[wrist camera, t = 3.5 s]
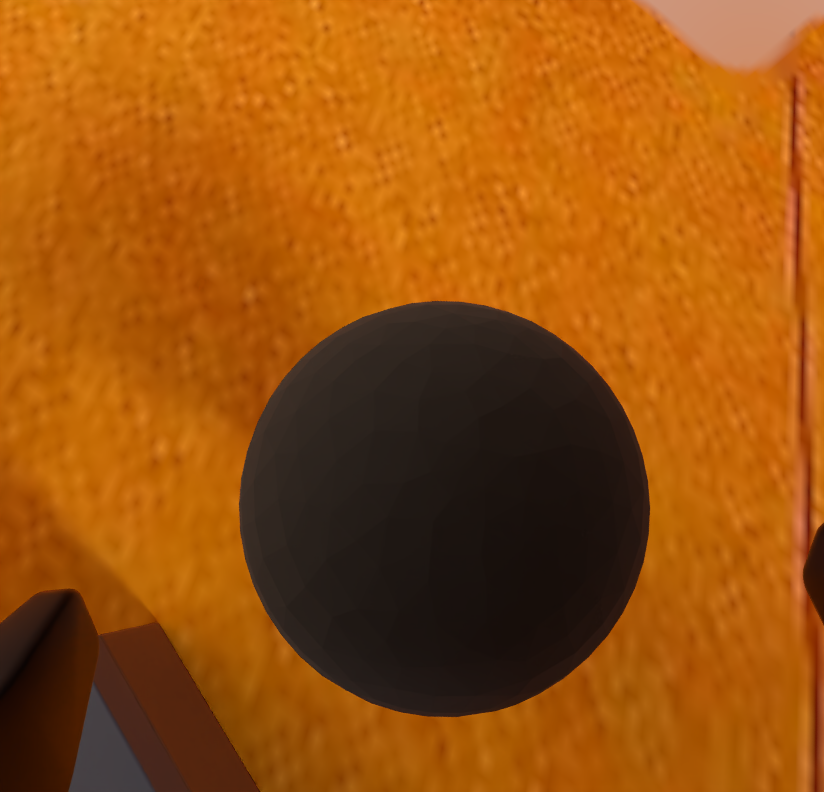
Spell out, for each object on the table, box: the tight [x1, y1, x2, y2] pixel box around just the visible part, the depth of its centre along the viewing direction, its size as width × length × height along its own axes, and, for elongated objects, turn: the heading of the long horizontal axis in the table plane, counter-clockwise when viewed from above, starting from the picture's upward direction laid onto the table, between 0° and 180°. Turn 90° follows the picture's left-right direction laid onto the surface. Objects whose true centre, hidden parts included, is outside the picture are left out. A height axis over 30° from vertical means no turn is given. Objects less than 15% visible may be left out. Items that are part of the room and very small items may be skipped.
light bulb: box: [239, 301, 650, 717], centre depth 12 cm, size 6×6×10 cm
